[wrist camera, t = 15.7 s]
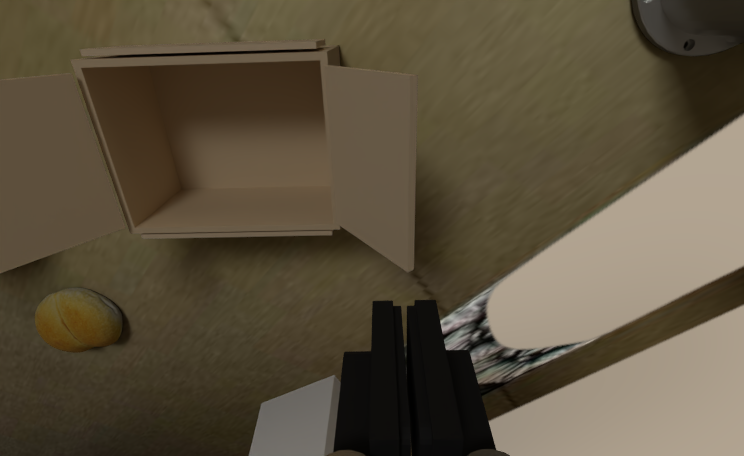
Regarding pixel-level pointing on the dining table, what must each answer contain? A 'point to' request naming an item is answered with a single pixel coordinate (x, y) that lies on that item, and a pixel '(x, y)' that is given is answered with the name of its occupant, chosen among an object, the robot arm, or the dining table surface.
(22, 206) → the flap
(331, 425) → the milk
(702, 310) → the dining table surface
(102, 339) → the bread roll
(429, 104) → the dining table surface
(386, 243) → the flap
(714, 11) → the robot arm
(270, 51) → the carton
